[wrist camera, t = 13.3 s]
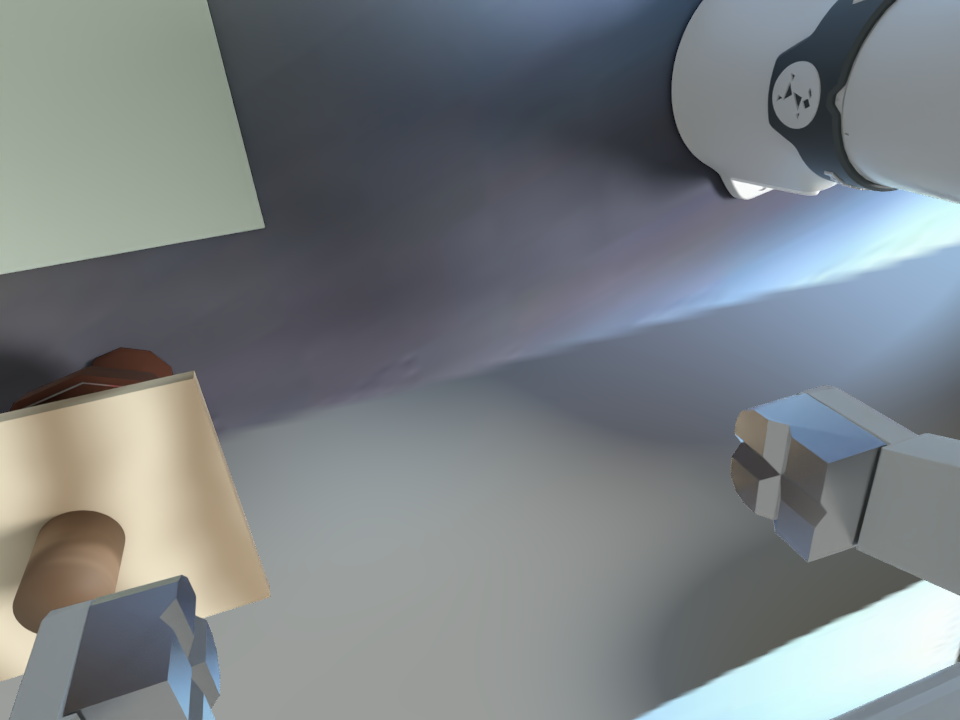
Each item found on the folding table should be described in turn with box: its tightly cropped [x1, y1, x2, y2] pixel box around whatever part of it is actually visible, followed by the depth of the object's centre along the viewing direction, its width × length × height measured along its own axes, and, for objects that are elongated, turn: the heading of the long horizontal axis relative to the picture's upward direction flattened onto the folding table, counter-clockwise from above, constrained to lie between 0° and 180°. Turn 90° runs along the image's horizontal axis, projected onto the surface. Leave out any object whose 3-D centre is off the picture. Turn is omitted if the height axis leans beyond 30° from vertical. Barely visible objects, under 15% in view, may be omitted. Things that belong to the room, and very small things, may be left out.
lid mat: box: [0, 0, 265, 274], centre depth 36 cm, size 18×18×1 cm
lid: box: [0, 371, 270, 681], centre depth 29 cm, size 14×14×5 cm
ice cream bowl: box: [10, 348, 173, 412], centre depth 38 cm, size 11×11×15 cm
